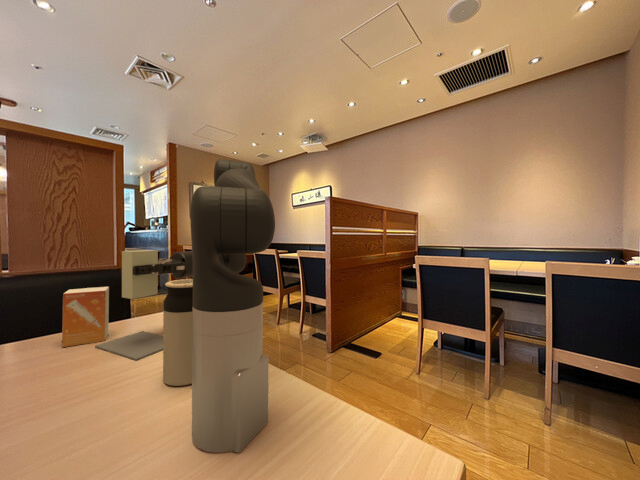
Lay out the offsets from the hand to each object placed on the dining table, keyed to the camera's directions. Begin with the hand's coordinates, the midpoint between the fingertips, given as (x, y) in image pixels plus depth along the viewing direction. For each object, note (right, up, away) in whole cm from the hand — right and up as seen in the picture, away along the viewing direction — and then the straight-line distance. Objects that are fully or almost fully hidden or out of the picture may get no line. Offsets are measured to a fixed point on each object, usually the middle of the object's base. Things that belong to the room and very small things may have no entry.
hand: (128, 270), depth 61 cm
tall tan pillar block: (+1, -7, +3) cm, 7 cm away
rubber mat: (+1, -19, +3) cm, 19 cm away
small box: (-14, -19, +5) cm, 24 cm away
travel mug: (+20, -19, -12) cm, 30 cm away
